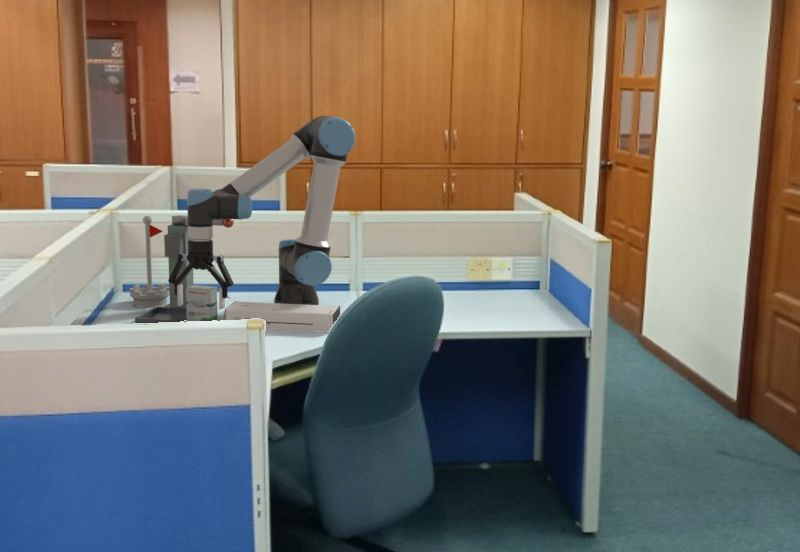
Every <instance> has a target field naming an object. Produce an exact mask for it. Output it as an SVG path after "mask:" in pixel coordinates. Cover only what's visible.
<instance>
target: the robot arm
mask: <svg viewBox="0 0 800 552" xmlns="http://www.w3.org/2000/svg"><path fill="white" fill-rule="evenodd" d="M355 133H356V132H355V129H354V128H353V126H352V124H351V123H350V122H349V121H348V120H346V119H344V118H341V117H339V116H328V115H320V116H317V117H314V118H313V119H311V120H310V121H308V122H307V123H305V124H304V125H303V126H302V127H300V128H299V129H298V130H297V131H295V132H294V133H292V134H291V136H290V139H289V140H288V141H286V142H284V144H281V146H279V147H278V148H277V149H276V150H274V151H272V152H271V153H269V154H268V155H267V156H266V157H264V158H263V159H261V160H260V161H258V162H257V163H256V164H255V165H253V166H251V168H249V169H247V170H246V171H245V172H243V173H242V174H240V175H239V176H238V177H237V178H235V179H234V180H232V181H231V182H229V183H228V184H226V185H225V186H224V187H222V188H219V189H216V190H215V189H214V191H213V189H210V188H198V187H197V188H191V189H189V190H188V191H187V203H186V205H187V206H186V207H187V217H188V238H189V239H190V240H189V241H188V255H186V254H184V253H181V254H179V255H178V261H177V263H176V265H175V267H174V270H173V272H172V274H171V276H170V278H169V277H168V280H167V281H168V284H169V283H173V284H174V287H175V295H177V304H178V306H181V305H183V284H180V283H181V282H182V280H183V279H184V278H185V277H186V276H187V275H188V273H189V272H190V271H191V270H192V269H193V270H202V271H206V270H207V271H208V272H209V273H210V274H211V276H212V277H213V279H214V280H216V282H217V283H218V284H219V286H220V287H219V290H218V295H219V296H218V297H219V298H218V299H219V302H218V304H219V305H218V306H219V308H218V309H219V310H223V309H225V308H226V306H225V305H226V303H225V299H227V298H228V296H229V295H228V293H229V292H228V290H229V289H228V288H229V287H232V286H233V285H234V281H233V278H232V277H231V274H230V272H229V270H228V268H227V266H226V264H225V262H224V256H223V255H217V256H214V241H213V238H214V233H213V232H214V227H213V226H214V225H213V220H220V219H233V220H239V221H241V220H247V219H250V218H251V216H252V214H253V202H252V198H251V197H253V196H254V195H256V194H257V193H258V192H259V191H261V190H262V189H265V187H266V186H269V184H271V183H272V182H274V181H275V180H277V178H279V177H280V176H282V175H283V174H285V173H286V172H287V171H289V170H290V169H292V168H293V167H294V166H296V165H298V163H300V162H301V161H302V160H305V159H307V160H310V159H311V160H313V161H312V162H313V165H312V166H313V167H312V172H311V178H310V182H309V183H310V184H309V189H308V194H307V199H306V204H305V205H306V206H305V210H304V217H303V221H302V228H301V234H300V235H299V236H298V237H297V238H292V239H282V240H280V241H279V243H278V286H277V290H276V292H275V296H274V297H273V298H274V299H273V303H281V304H303V305H320V303H319V302H320V301H319V296H318V294H317V291H316V287H315V286H319V285H321V284H323V283H324V282H326V281H327V280H328V279H329V277H330V275H331V273H332V267H333V265H332V262H331V258H330V253H331V249H332V248H331V247H332V245H331V244H330V242H329V240H328V237H329V232H330V226H331V221H332V215H333V210H334V204H335V199H336V195H337V194H336V193H337V188H338V183H339V178H340V170H341V167H343V165H346V163H347V162H348V161H347V160H348V155H349V154H348V153H350V152H351V151H352V150H353V148H354V146H355V144H356V134H355ZM186 259H187V260H188V261H189V263H190V264H189V265H188V266H187V267H186V269H185V270H184V271H183V272H182V274H181V275H180V276H179V277H178V278H177V279H176V277H177V275H178V273H179V271H180V269H181V267H182V265H183V262H184V261H185V260H186ZM214 262H215V263H216V264H217V267H218V269H219V271H220V272H219V271H218V270H217V268H216V266H215V264H213V263H214ZM220 273H221V274H220Z"/></svg>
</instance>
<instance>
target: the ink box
mask: <svg viewBox="0 0 800 552" xmlns="http://www.w3.org/2000/svg"><path fill="white" fill-rule="evenodd" d="M217 288H218V287H217V286H209V285H199V284H198V285H196V284H194V285H193V286H189V287H187V288H186V307H187V321H212V320H218V319H219V317H218V316H219V315H218V289H217ZM187 321H186V322H187Z"/></svg>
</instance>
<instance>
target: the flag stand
mask: <svg viewBox="0 0 800 552" xmlns="http://www.w3.org/2000/svg"><path fill="white" fill-rule="evenodd" d="M152 221H153V219H152V217H151V216H150V215H145V216H143V219H142V222H143V224H144V227H145V250H146V251H145V253H146V277H147V279H146V281H147V283H144V287H141V285H139V284H136V285H133V286H132V287H129V296H130V297H131V298H132V299H133V301H132V302H133V305H134V306H135V305H136V306H135V307H139V306H143V307H142V308H152V307H153V308H154V306H157V307H163V306H166V305H168V297H170V292H169V286H168V285H166V284H164V283H159V284H157V285H158V286H154V285H153V275H152V274H153V271H152V249H151V248H152V247H151V246H152V244H151V238H152V237H154V236H156V235H159V234H160V233H163V230H162V229H159V228H157V226H156V227H155V226H154V225H152Z"/></svg>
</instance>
